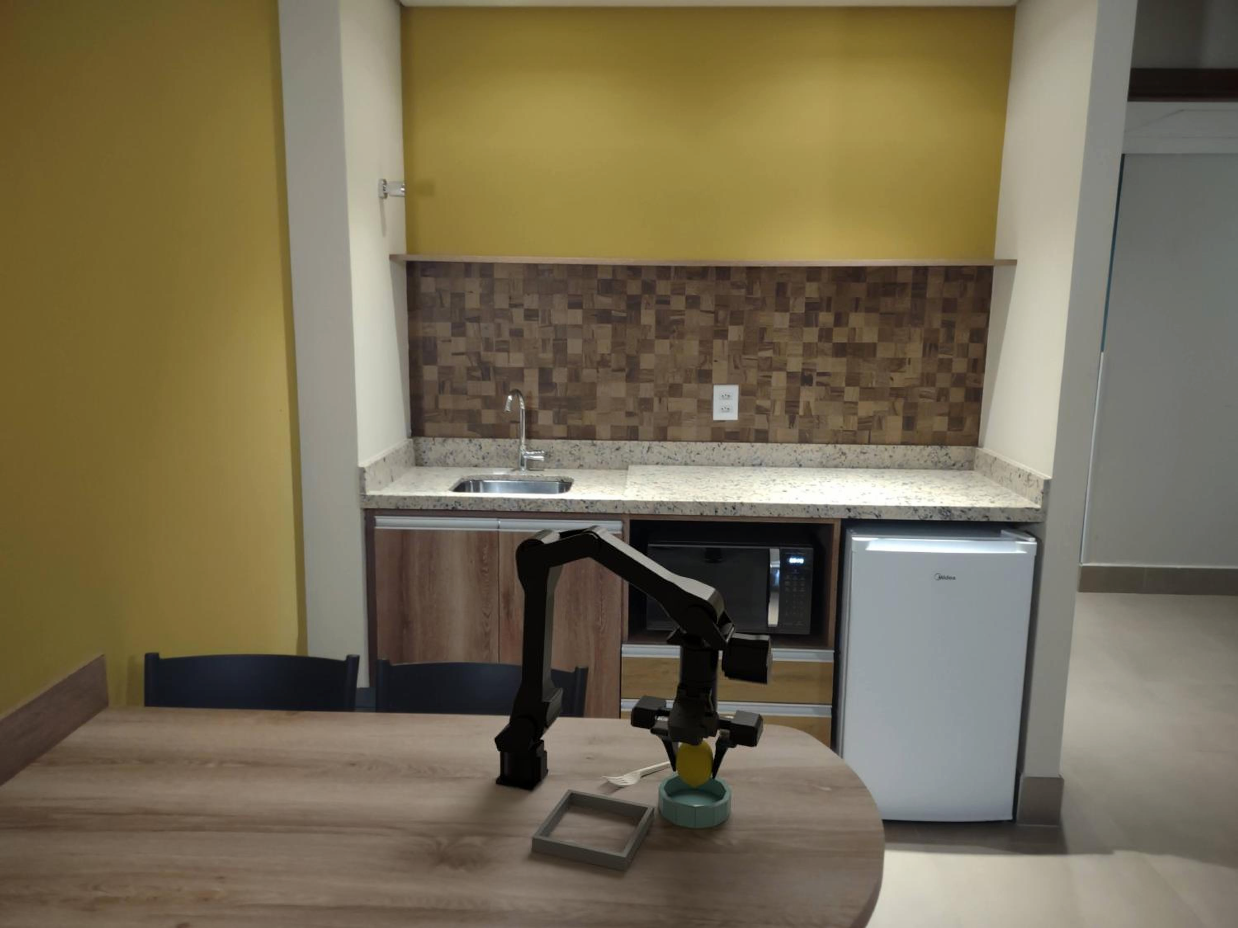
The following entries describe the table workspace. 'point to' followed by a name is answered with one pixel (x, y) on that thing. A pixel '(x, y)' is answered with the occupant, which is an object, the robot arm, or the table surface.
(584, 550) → the robot arm
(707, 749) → the lemon
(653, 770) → the fork
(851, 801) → the table surface
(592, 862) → the parts tray
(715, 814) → the bowl
